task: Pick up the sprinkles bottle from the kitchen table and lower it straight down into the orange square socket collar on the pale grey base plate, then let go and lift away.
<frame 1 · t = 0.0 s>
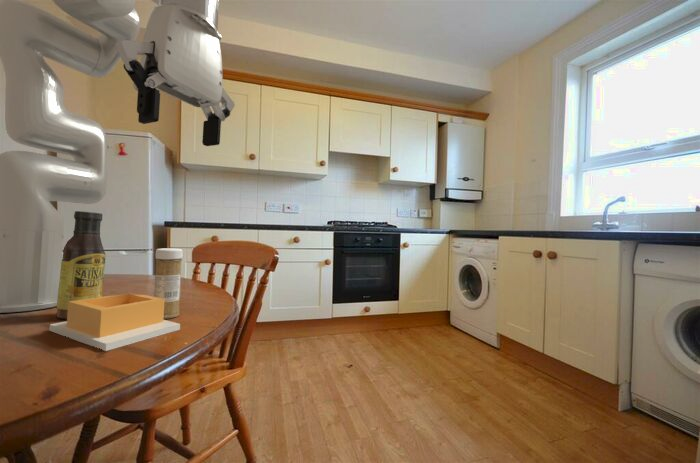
hand: (182, 134, 42), 31 cm above the table, tool pointing down, fingers open, 9 cm apart
socket base: (116, 330, 49), on the table
sprinkles bottle: (165, 317, 58), on the table
sauce bottle: (79, 316, 56), on the table
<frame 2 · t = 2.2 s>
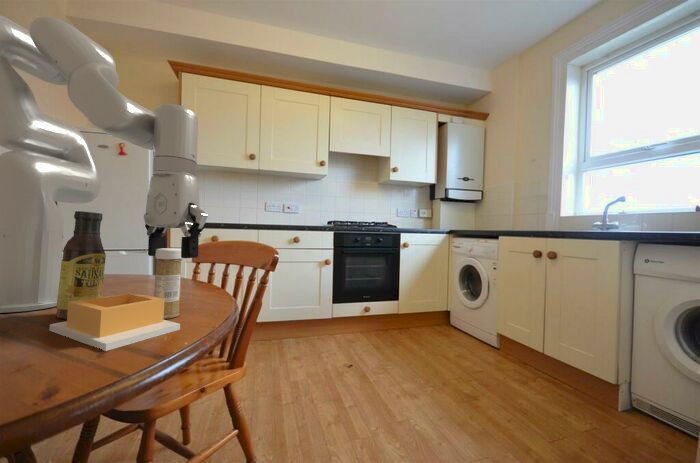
hand: (172, 256, 58), 12 cm above the table, tool pointing down, fingers open, 9 cm apart
nothing on the table moved.
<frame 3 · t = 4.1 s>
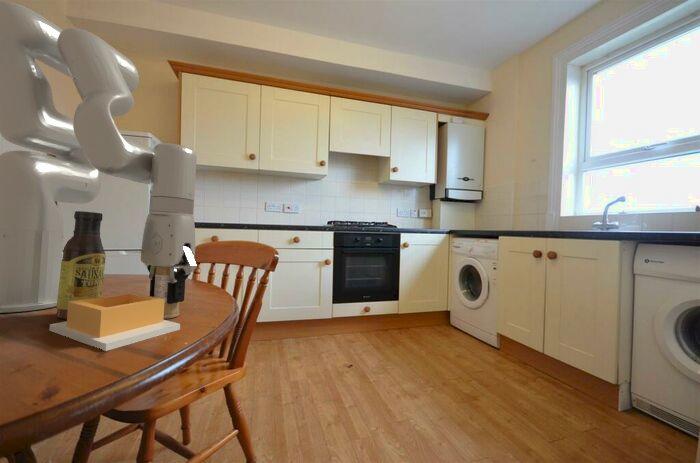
hand: (166, 299, 58), 3 cm above the table, tool pointing down, fingers closed on sprinkles bottle, 4 cm apart
sprinkles bottle: (165, 317, 58), on the table, touching gripper
everything else where it was.
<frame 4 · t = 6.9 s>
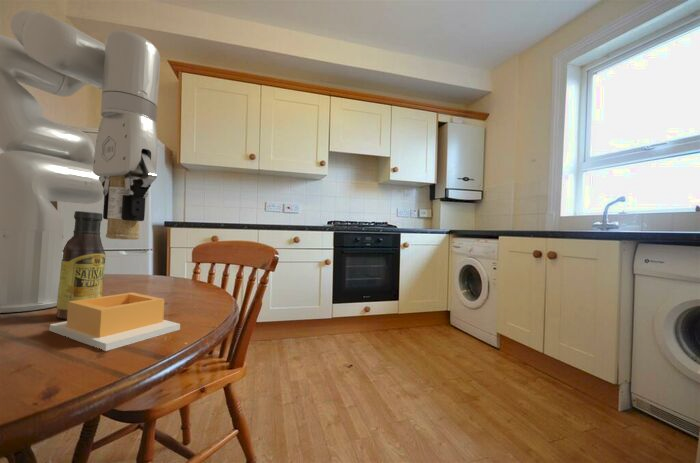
hand: (123, 219, 49), 19 cm above the table, tool pointing down, fingers closed on sprinkles bottle, 4 cm apart
sprinkles bottle: (122, 240, 49), point 15 cm above the table, touching gripper
everything else where it was.
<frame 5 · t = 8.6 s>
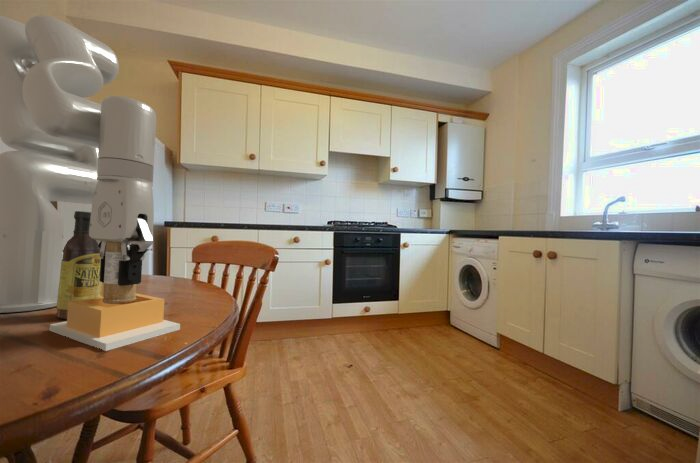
hand: (120, 281, 49), 8 cm above the table, tool pointing down, fingers closed on sprinkles bottle, 4 cm apart
sprinkles bottle: (119, 303, 49), point 5 cm above the table, touching gripper
everything else where it was.
when the fingers open (6 cm above the table, at t = 9.8 s): sprinkles bottle drops 2 cm, resting on socket base.
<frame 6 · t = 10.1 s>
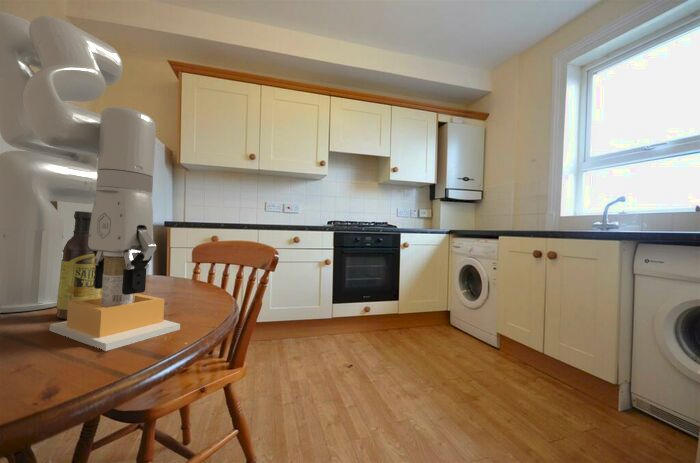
hand: (119, 289, 49), 7 cm above the table, tool pointing down, fingers open, 7 cm apart
sprinkles bottle: (116, 324, 49), point 1 cm above the table, touching socket base
everything else where it was.
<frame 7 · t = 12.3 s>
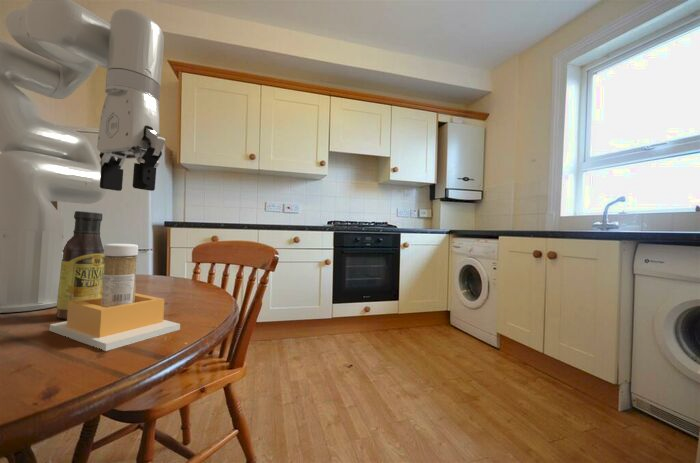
hand: (126, 189, 50), 24 cm above the table, tool pointing down, fingers open, 9 cm apart
nothing on the table moved.
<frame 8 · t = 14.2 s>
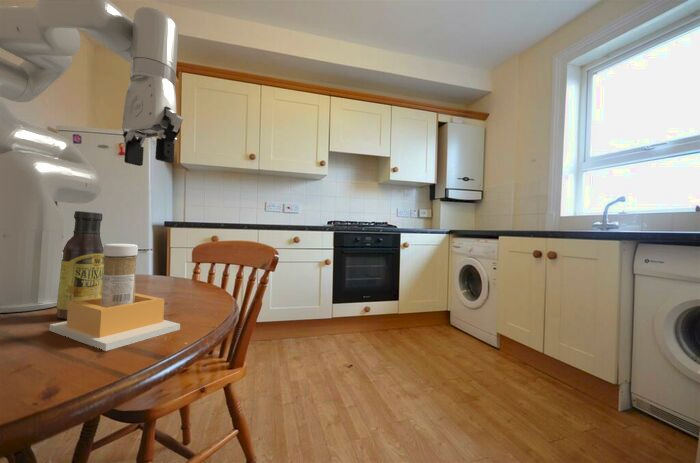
hand: (148, 162, 58), 30 cm above the table, tool pointing down, fingers open, 9 cm apart
nothing on the table moved.
at the end: sprinkles bottle 0.2 cm off-centre on the socket base, point 0.8 cm above the socket base's base; sprinkles bottle tilted 0°; the gripper is holding nothing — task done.
